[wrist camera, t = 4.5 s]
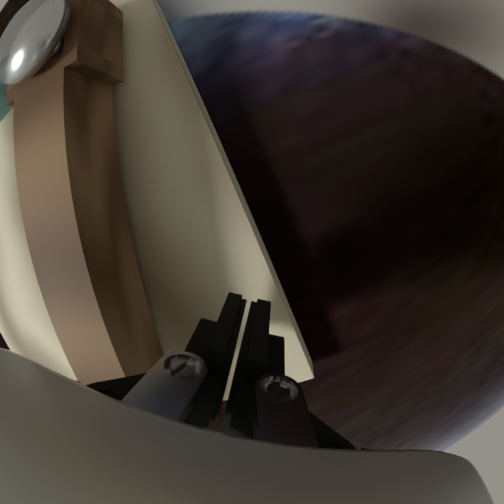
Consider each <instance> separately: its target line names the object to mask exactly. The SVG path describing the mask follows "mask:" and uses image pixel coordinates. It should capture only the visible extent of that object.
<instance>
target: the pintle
mask: <svg viewBox="0 0 504 504" xmlns="http://www.w3.org/2000/svg"><path fill="white" fill-rule="evenodd" d="M70 12H71V6H70V2H69V0H30V1H29V2H27V3H26V4H25V5H24V6H23V7H22V8H21V9H20V10H19V11H18V12H17V14H16V15H15V16H14V17H13V19H12V20H11V21H10V23H9V24H8V26H7V27H6V29H5V31H4V33H3V35H2V37H1V39H0V83H4V84H10V85H18V84H21V83H23V82H25V81H27V80H28V79H29V78H31V77H32V76H33V75H34V74H35V73H36V72H37V71H38V70H39V69H40V68H41V67H42V66H43V65H44V64H45V63H47V62H49V61H50V60H52V59H53V58H55V57H57V56H58V55H60V54H62V53H63V45H64V35H65V29H66V27H67V24H68V21H69V18H70Z"/></svg>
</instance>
